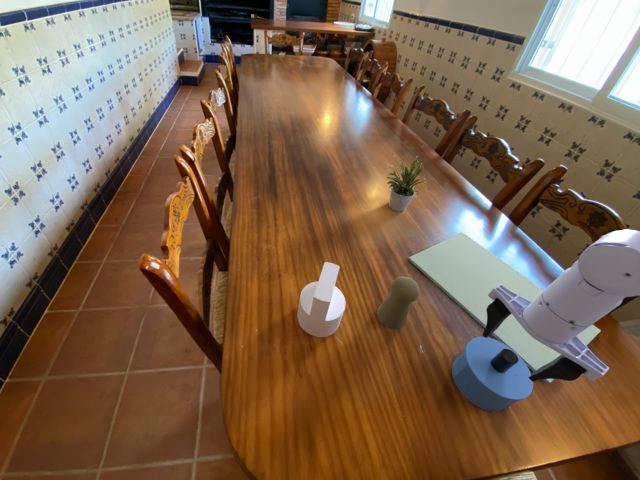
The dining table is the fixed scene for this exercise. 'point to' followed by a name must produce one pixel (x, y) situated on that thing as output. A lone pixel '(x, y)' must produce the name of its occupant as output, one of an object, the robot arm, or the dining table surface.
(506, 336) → the mat
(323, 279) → the base with upright slab
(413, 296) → the olive pawn figure
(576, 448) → the dining table surface
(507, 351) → the pot lid
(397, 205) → the house plant
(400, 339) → the dining table surface
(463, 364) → the pot
